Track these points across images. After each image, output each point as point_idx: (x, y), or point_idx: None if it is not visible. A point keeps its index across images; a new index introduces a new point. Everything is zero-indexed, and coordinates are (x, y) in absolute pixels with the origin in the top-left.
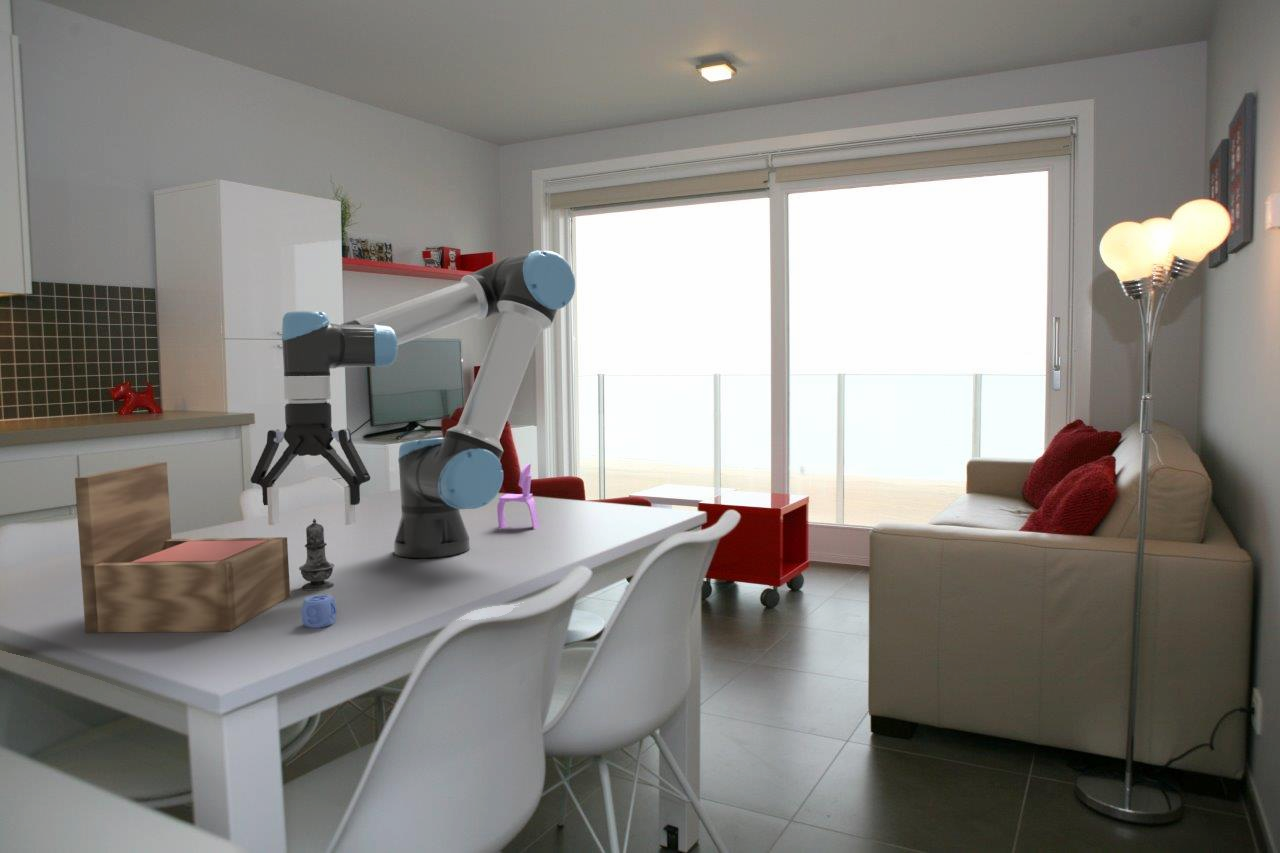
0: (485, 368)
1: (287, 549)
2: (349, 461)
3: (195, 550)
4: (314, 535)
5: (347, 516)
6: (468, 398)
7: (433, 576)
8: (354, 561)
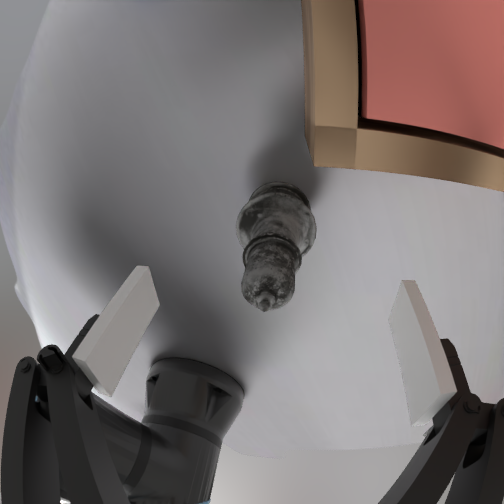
0: None
1: (311, 155)
2: (20, 441)
3: (501, 15)
4: (260, 257)
5: (129, 282)
6: None
7: (111, 265)
8: (282, 361)
